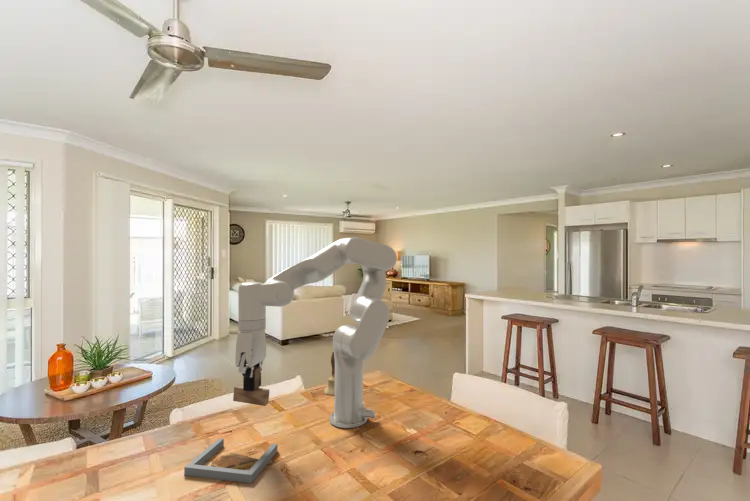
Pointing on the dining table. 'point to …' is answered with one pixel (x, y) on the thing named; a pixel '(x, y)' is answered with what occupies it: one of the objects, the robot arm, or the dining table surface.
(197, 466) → the frame
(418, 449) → the dining table surface
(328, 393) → the hand bell
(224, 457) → the shard
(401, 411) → the dining table surface
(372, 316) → the robot arm
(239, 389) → the brown wooden block
